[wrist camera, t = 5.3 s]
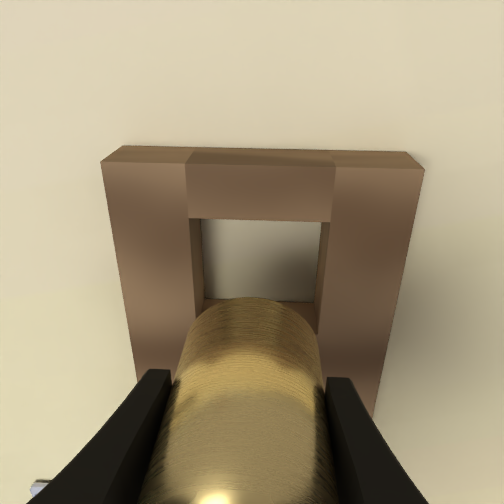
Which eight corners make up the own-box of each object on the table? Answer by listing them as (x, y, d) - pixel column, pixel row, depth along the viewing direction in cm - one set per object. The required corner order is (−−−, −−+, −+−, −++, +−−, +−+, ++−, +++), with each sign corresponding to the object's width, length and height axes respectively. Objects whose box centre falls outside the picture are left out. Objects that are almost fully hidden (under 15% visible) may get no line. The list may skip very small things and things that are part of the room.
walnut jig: (348, 459, 26) (354, 498, 24) (165, 449, 27) (155, 486, 25) (405, 151, 17) (425, 169, 15) (122, 145, 18) (100, 161, 15)
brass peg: (309, 404, 15) (328, 616, 9) (186, 394, 15) (136, 598, 9) (327, 302, 12) (364, 501, 7) (184, 292, 13) (116, 479, 7)
